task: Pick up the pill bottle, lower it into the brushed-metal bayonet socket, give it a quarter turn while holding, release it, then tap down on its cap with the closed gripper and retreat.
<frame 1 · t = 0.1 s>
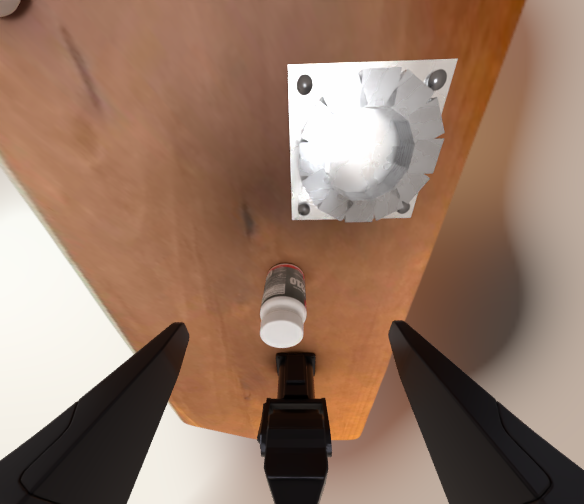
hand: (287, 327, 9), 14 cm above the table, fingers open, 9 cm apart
pill bottle: (285, 276, 26), on the table
socket: (357, 153, 18), on the table
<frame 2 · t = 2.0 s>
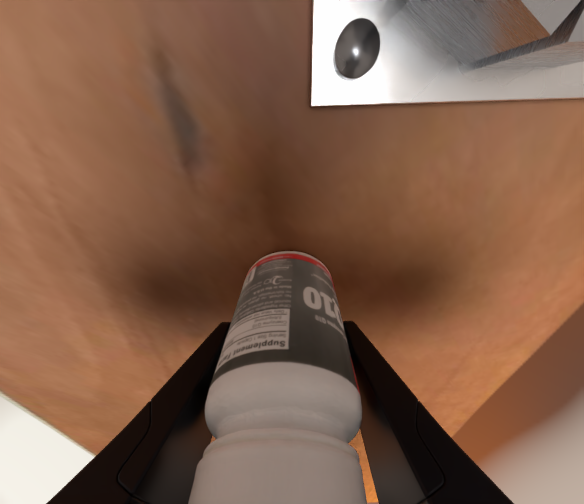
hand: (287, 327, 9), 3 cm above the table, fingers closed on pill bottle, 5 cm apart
pill bottle: (289, 282, 12), on the table, touching gripper
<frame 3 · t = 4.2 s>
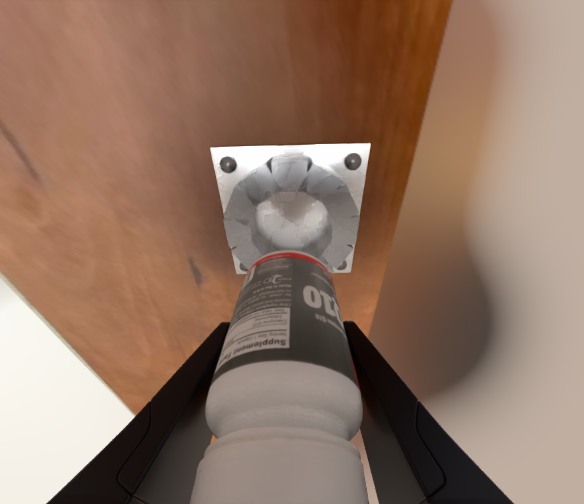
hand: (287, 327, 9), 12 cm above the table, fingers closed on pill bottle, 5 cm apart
pill bottle: (288, 281, 12), point 9 cm above the table, touching gripper
socket: (291, 217, 19), on the table
when the fingers open (4 cm above the table, at t = 6.3 s): pill bottle stays where it is, resting on socket.
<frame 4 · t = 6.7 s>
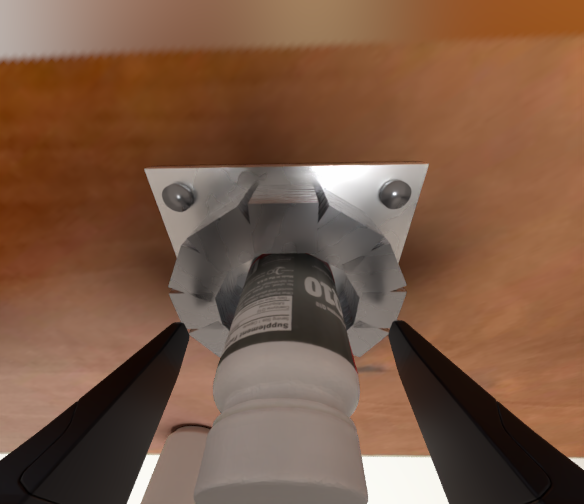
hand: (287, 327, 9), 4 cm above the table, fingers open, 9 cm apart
pill bottle: (290, 275, 12), resting on socket
beverage can: (197, 431, 26), on the table
socket: (288, 271, 12), on the table
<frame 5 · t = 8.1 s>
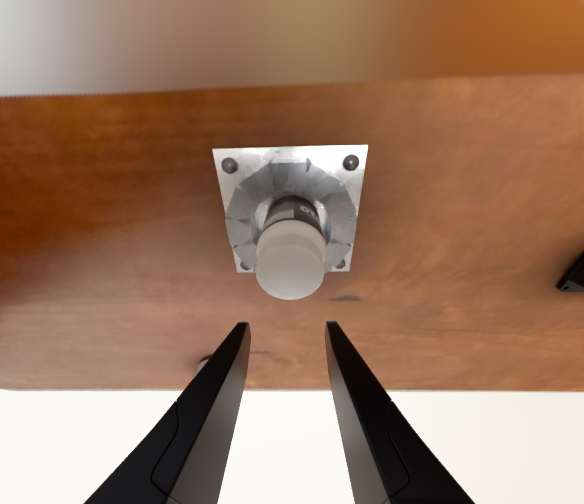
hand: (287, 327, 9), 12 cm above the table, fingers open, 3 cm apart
pill bottle: (292, 218, 19), resting on socket
socket: (291, 217, 20), on the table
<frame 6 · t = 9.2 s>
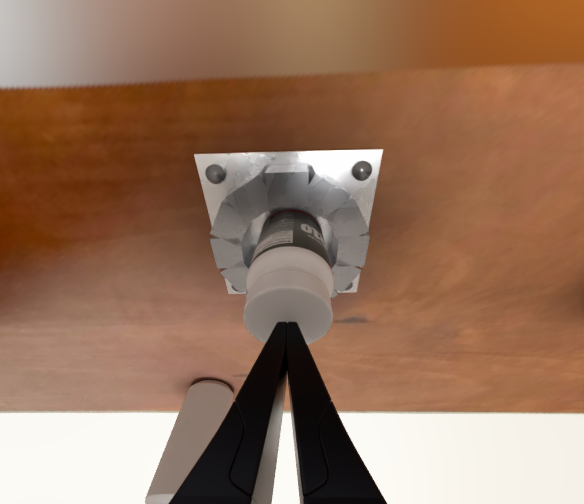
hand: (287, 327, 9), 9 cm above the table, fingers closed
pill bottle: (291, 234, 16), resting on socket
beverage can: (213, 387, 30), on the table
socket: (290, 232, 17), on the table
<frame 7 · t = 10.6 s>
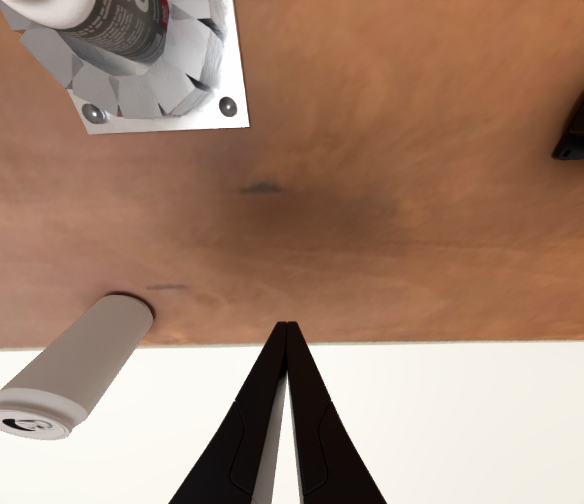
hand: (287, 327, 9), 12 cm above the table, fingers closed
pill bottle: (135, 12, 12), resting on socket
beverage can: (131, 308, 26), on the table
socket: (138, 16, 13), on the table
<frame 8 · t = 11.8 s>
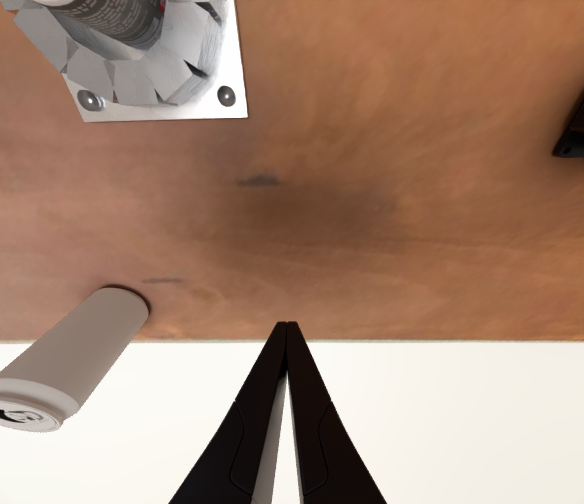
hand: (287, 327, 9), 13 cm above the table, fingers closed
beverage can: (126, 301, 26), on the table
socket: (135, 1, 13), on the table
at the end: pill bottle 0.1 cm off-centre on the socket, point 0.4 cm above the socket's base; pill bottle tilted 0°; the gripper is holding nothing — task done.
